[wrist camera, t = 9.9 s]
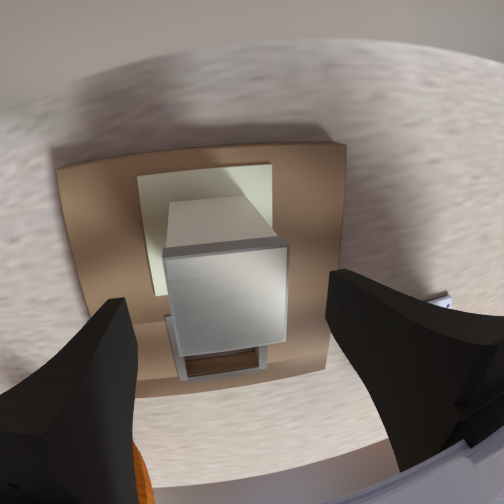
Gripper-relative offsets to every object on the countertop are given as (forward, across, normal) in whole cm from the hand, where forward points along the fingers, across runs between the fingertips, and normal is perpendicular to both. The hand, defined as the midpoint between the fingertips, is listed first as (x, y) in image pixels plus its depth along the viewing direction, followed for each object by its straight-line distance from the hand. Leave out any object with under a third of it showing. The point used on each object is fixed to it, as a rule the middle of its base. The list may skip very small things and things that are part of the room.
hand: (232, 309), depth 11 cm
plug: (+7, 0, 0) cm, 7 cm away
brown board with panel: (+9, 0, +4) cm, 10 cm away
